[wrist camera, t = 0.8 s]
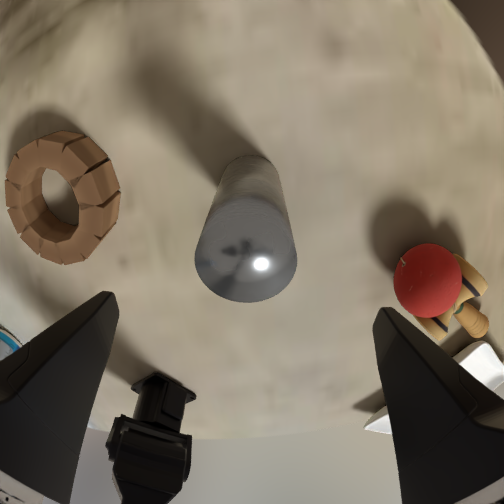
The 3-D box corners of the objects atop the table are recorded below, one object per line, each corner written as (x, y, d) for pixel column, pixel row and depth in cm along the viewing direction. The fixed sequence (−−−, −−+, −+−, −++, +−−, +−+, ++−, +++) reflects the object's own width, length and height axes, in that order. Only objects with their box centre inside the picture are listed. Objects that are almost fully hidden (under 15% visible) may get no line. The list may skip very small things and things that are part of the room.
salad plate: (505, 362, 34) (513, 376, 31) (417, 426, 43) (422, 440, 41) (474, 322, 28) (486, 341, 25) (356, 410, 37) (360, 429, 34)
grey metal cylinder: (248, 220, 22) (243, 316, 13) (209, 181, 20) (174, 259, 12) (291, 185, 20) (317, 266, 12) (252, 143, 19) (249, 194, 10)
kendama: (492, 283, 26) (433, 208, 19) (513, 326, 22) (471, 268, 15) (446, 318, 31) (365, 266, 24) (461, 361, 26) (385, 330, 19)
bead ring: (84, 264, 24) (69, 284, 21) (14, 195, 20) (-6, 208, 18) (143, 190, 20) (128, 205, 18) (58, 107, 17) (35, 113, 14)
